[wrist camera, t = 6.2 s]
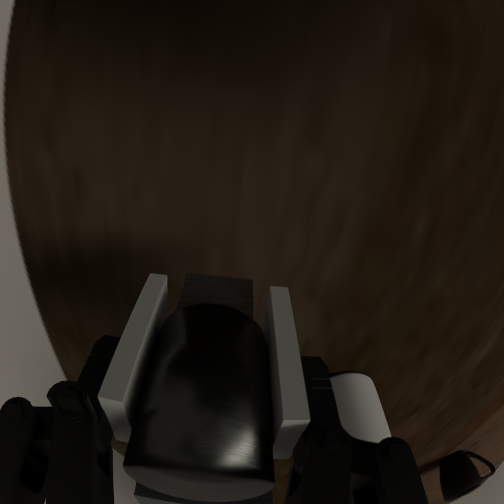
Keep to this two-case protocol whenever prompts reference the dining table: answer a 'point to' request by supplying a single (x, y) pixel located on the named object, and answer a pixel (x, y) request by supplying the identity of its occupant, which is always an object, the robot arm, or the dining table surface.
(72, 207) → the dining table surface
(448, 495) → the mug
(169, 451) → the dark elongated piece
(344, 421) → the can
